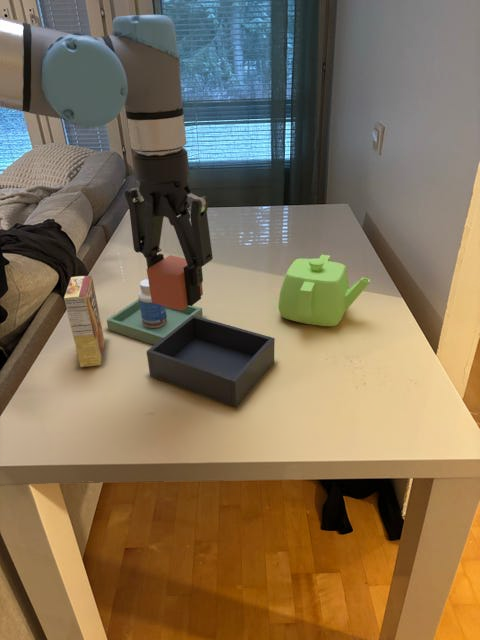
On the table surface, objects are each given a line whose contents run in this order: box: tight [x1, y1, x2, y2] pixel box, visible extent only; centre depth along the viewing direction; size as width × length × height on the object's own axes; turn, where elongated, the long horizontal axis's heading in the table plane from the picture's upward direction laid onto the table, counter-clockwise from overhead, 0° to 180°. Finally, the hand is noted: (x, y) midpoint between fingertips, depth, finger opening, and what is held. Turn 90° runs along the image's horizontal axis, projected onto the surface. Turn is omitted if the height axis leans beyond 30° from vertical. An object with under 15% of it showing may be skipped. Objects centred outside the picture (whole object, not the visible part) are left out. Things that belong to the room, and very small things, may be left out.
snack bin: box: [146, 315, 276, 408], centre depth 87 cm, size 19×15×6 cm
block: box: [146, 254, 204, 311], centre depth 74 cm, size 6×6×6 cm
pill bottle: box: [137, 278, 167, 328], centre depth 100 cm, size 6×5×10 cm
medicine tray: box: [106, 298, 204, 346], centre depth 102 cm, size 16×14×3 cm
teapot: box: [278, 254, 371, 327], centre depth 101 cm, size 18×20×13 cm
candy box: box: [63, 275, 106, 368], centre depth 89 cm, size 9×4×15 cm, turn 10°
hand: (177, 297), depth 76 cm, fingers closed on block, 6 cm apart
